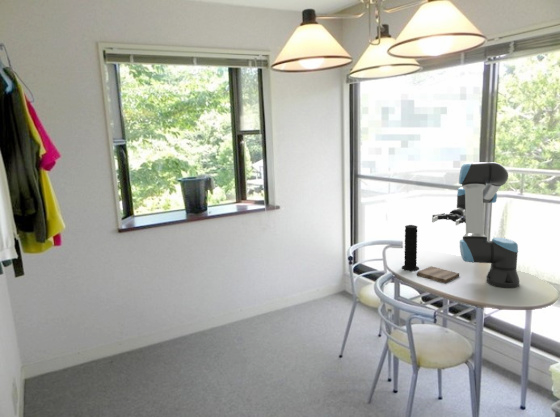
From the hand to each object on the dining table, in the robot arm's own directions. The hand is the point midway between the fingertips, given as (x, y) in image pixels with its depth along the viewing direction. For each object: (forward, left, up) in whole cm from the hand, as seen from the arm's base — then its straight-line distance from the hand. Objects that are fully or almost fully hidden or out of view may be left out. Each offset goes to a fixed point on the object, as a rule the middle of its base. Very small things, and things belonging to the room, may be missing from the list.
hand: (444, 221), depth 233 cm
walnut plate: (-7, +17, -27) cm, 33 cm away
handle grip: (+11, +16, -27) cm, 34 cm away
